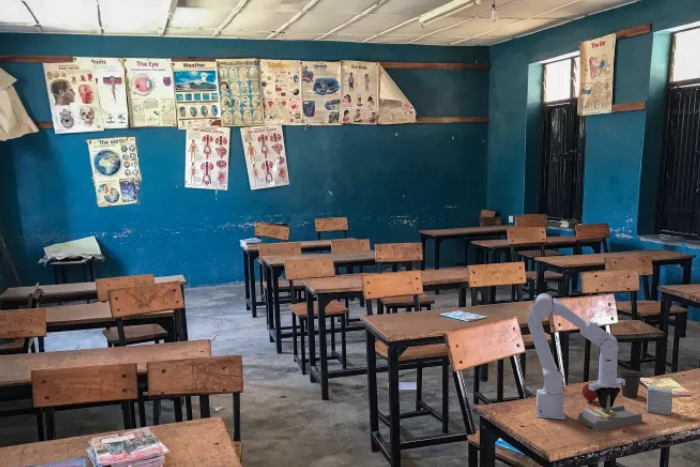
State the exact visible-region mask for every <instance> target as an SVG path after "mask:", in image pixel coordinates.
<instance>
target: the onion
mask: <svg viewBox="0 0 700 467" xmlns="http://www.w3.org/2000/svg"><path fill="white" fill-rule="evenodd" d="M590 383H593V382H592V380H590V381H588V383H587V384H585V385H584V386H583V387H582V390H581V393H582V396H583V397H584V399H585V400H586V401H588V402H589V401H590V402H593V401H595V400H596V399H598V397H597V394H596V392H595V391H592V390H590V389H589V384H590Z"/></svg>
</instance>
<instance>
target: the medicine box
mask: <svg viewBox="0 0 700 467" xmlns="http://www.w3.org/2000/svg"><path fill="white" fill-rule="evenodd" d="M646 390H647V393H646V412H647V413H652V414H659V415H666V416H667V415H668V416H672V408H673V396H674V395H673V391H672V389H671V388H668V387H667V388H665V387H661V386H660V387H658V386H651V385H648V386H647V389H646Z"/></svg>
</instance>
